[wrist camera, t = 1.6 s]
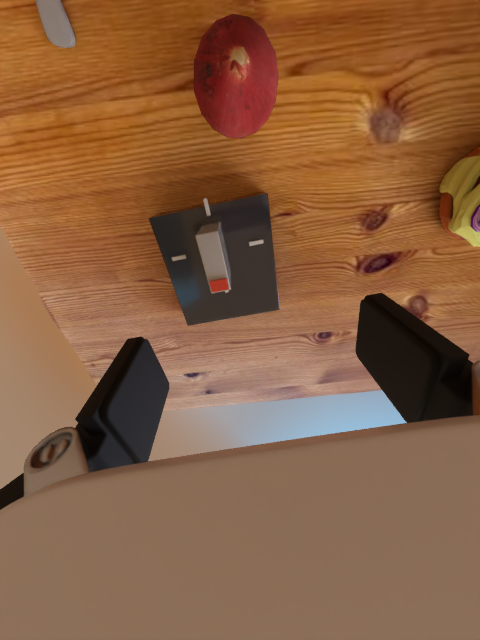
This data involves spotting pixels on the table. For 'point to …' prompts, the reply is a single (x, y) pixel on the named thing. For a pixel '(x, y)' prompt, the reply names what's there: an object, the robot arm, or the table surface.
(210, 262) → the knob
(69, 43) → the spoon
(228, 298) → the dial base
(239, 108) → the onion
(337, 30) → the table surface
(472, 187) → the cheeseburger
